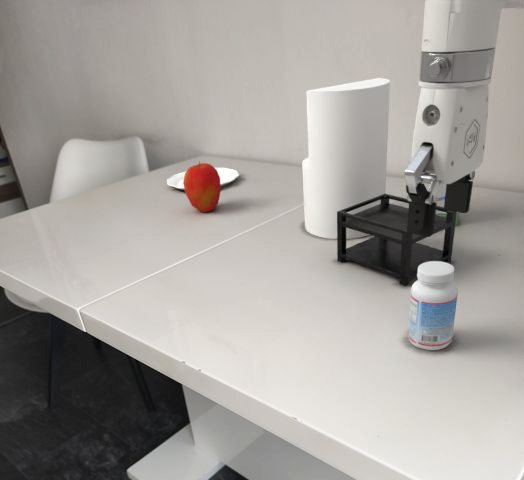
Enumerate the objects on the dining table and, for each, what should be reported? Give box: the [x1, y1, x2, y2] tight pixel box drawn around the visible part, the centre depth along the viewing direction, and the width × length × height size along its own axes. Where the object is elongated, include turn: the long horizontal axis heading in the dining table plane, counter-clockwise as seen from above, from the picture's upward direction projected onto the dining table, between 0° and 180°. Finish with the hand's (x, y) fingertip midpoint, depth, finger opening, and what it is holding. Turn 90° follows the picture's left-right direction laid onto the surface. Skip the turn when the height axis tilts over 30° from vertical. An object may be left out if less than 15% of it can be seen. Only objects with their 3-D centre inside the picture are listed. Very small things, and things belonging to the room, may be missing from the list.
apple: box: [183, 161, 222, 213], centre depth 132 cm, size 9×9×12 cm
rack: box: [336, 193, 457, 287], centre depth 97 cm, size 16×13×10 cm
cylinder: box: [301, 77, 391, 240], centre depth 111 cm, size 17×17×28 cm
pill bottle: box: [407, 261, 459, 351], centre depth 74 cm, size 6×6×11 cm
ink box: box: [433, 181, 460, 226], centre depth 113 cm, size 8×5×12 cm, turn 168°
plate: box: [166, 167, 240, 191], centre depth 156 cm, size 21×21×2 cm
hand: (438, 222), depth 67 cm, fingers open, 9 cm apart
